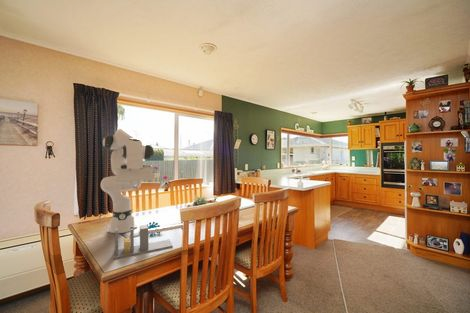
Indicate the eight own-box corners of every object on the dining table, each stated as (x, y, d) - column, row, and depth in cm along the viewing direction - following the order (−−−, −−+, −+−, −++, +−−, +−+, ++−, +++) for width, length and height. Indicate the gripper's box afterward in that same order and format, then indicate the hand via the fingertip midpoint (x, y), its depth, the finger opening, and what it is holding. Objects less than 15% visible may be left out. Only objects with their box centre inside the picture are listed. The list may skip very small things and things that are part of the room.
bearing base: (114, 251, 118) (114, 226, 118) (169, 240, 132) (169, 218, 132) (113, 259, 109) (113, 232, 109) (172, 247, 124) (172, 223, 123)
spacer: (123, 249, 119) (123, 238, 119) (129, 248, 120) (129, 237, 120) (124, 254, 113) (123, 242, 113) (130, 252, 115) (130, 241, 115)
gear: (142, 235, 138) (146, 220, 145) (143, 238, 142) (146, 224, 149) (160, 236, 140) (163, 222, 147) (160, 239, 144) (163, 225, 151)
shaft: (138, 235, 123) (138, 225, 123) (186, 227, 136) (186, 218, 136) (139, 240, 116) (139, 230, 116) (189, 231, 129) (189, 222, 129)
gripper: (152, 164, 133) (153, 186, 133) (115, 165, 123) (115, 189, 123) (154, 165, 127) (154, 188, 127) (115, 166, 117) (115, 191, 118)
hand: (135, 188), depth 125 cm, fingers closed
